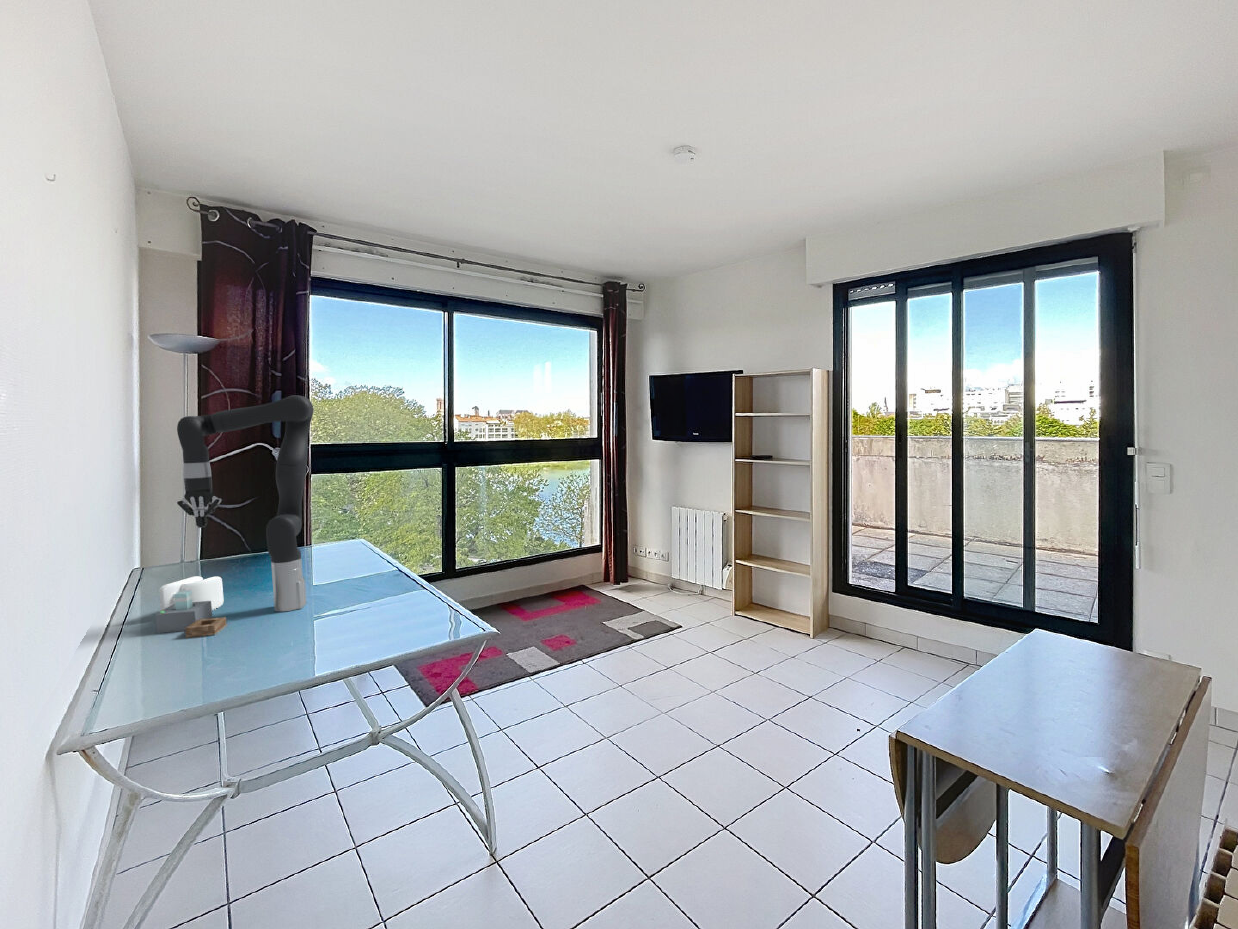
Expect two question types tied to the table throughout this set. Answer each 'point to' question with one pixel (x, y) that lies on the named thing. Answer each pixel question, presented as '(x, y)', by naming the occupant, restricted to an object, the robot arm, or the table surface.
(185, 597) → the pale turquoise box
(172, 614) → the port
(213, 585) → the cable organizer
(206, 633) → the brown wooden square block
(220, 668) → the table surface
